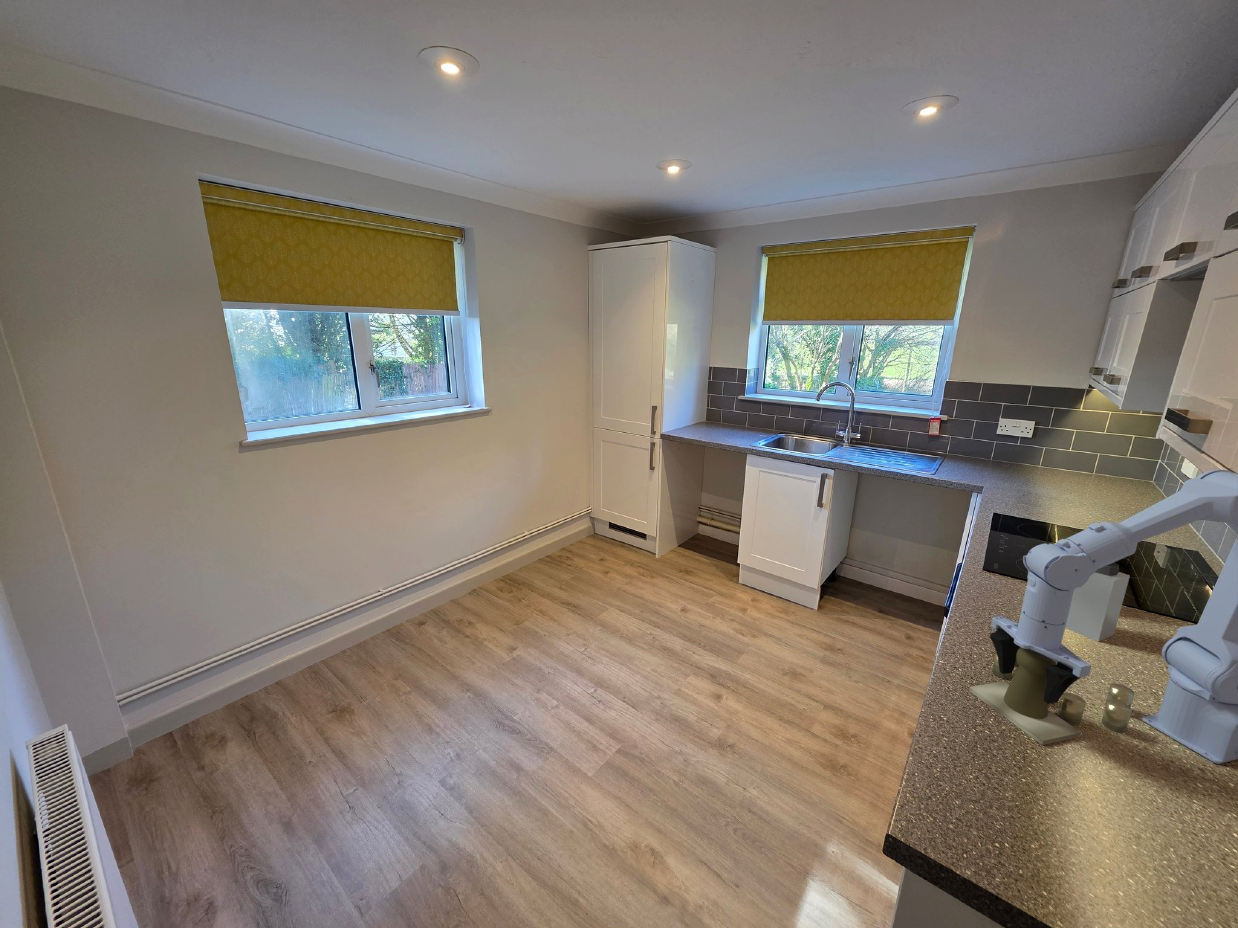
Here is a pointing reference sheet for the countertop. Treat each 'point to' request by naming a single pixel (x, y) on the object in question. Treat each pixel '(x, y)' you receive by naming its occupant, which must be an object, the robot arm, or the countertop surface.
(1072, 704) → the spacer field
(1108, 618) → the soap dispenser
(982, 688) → the pale grey metal board
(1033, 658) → the cork
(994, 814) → the countertop surface
